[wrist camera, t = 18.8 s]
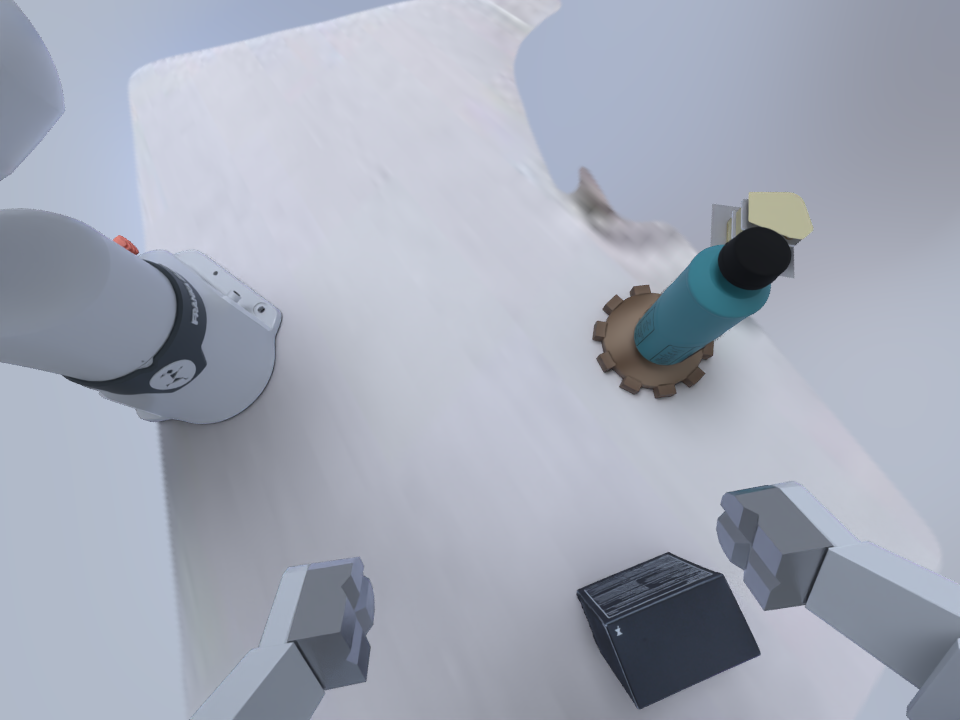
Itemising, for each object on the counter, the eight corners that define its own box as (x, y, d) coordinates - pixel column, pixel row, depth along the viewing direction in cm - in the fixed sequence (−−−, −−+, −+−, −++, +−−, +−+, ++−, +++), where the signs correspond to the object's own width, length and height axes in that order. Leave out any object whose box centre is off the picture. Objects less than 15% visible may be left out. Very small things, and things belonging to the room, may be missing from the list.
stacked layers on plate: (709, 266, 53) (733, 242, 47) (711, 203, 55) (735, 174, 50) (794, 278, 52) (828, 255, 47) (793, 214, 54) (825, 185, 49)
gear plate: (569, 339, 50) (572, 335, 49) (643, 270, 52) (648, 264, 51) (655, 421, 47) (661, 419, 46) (730, 344, 49) (737, 340, 48)
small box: (601, 660, 41) (637, 717, 31) (574, 589, 43) (599, 622, 33) (700, 617, 42) (767, 659, 32) (669, 549, 44) (723, 569, 34)
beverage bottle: (667, 382, 47) (791, 313, 28) (615, 348, 48) (698, 259, 29) (696, 336, 48) (833, 240, 29) (644, 304, 49) (743, 191, 30)
